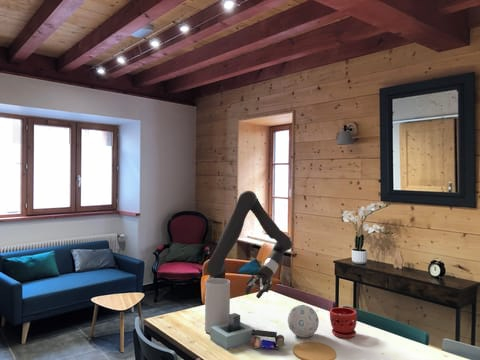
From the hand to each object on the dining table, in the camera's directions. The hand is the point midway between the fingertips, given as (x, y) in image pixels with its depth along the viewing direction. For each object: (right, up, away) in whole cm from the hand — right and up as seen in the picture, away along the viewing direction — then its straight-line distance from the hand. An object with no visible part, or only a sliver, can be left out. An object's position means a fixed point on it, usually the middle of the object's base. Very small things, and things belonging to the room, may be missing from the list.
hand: (251, 295), depth 189 cm
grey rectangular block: (-9, -18, -8) cm, 21 cm away
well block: (-9, -19, -9) cm, 23 cm away
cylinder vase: (-17, -19, +4) cm, 26 cm away
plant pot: (+46, -20, 0) cm, 50 cm away
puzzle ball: (+25, -19, -2) cm, 32 cm away
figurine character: (+7, -19, -17) cm, 26 cm away
